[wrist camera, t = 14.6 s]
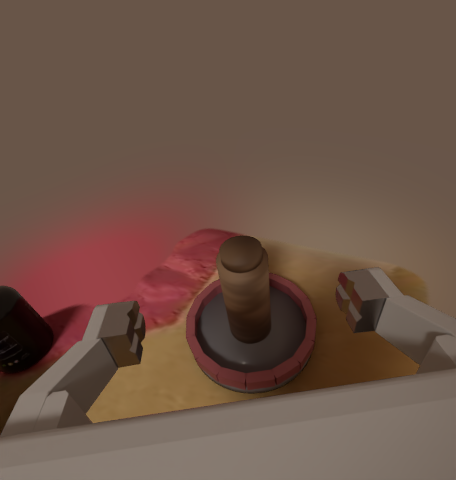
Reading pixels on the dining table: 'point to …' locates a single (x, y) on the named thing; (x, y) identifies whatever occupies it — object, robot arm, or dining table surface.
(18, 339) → the supplement bottle
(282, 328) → the round tray
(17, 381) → the dining table surface
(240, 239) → the pepper mill
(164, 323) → the dining table surface
